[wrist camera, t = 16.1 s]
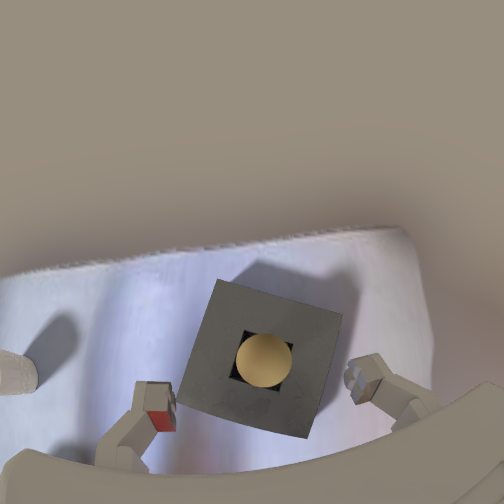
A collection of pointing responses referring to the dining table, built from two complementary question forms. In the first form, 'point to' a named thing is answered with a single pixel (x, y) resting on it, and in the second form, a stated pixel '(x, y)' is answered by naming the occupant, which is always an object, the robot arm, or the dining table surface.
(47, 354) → the dining table surface
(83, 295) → the dining table surface
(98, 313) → the dining table surface
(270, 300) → the hitch block
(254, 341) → the brass pin
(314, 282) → the dining table surface
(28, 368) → the white cup
